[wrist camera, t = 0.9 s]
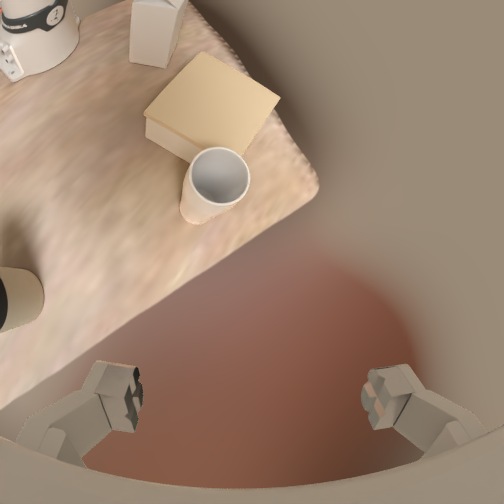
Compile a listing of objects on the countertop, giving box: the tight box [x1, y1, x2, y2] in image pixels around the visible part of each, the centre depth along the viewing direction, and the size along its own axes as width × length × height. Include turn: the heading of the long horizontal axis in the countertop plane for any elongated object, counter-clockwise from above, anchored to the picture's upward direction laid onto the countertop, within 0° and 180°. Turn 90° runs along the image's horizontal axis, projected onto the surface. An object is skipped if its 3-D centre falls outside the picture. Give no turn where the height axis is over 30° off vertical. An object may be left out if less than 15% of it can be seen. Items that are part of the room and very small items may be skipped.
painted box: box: [143, 51, 280, 164], centre depth 43 cm, size 15×15×8 cm
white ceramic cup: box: [179, 147, 250, 225], centre depth 38 cm, size 7×7×15 cm
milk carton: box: [129, 0, 188, 69], centre depth 35 cm, size 7×7×19 cm
